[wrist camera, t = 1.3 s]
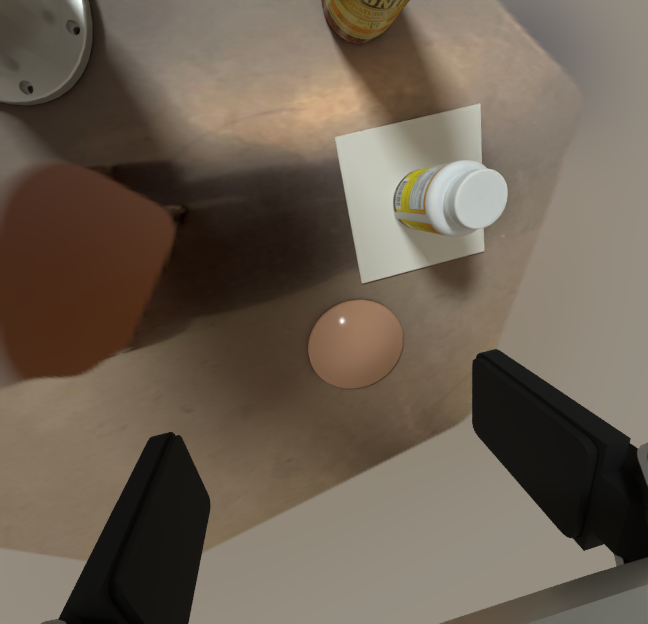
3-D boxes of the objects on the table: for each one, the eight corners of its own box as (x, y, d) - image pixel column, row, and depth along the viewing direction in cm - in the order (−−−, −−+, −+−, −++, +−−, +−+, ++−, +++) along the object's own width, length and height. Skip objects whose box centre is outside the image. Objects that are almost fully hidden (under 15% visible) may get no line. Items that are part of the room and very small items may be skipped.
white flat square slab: (334, 137, 28) (335, 137, 28) (478, 104, 29) (480, 103, 28) (361, 283, 33) (362, 283, 33) (483, 250, 34) (484, 251, 34)
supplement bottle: (449, 214, 32) (525, 220, 22) (400, 237, 32) (455, 254, 22) (434, 158, 30) (511, 140, 20) (382, 184, 30) (434, 178, 20)
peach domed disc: (297, 314, 33) (297, 316, 32) (394, 287, 34) (396, 289, 33) (320, 396, 37) (320, 399, 36) (406, 371, 38) (408, 373, 37)
